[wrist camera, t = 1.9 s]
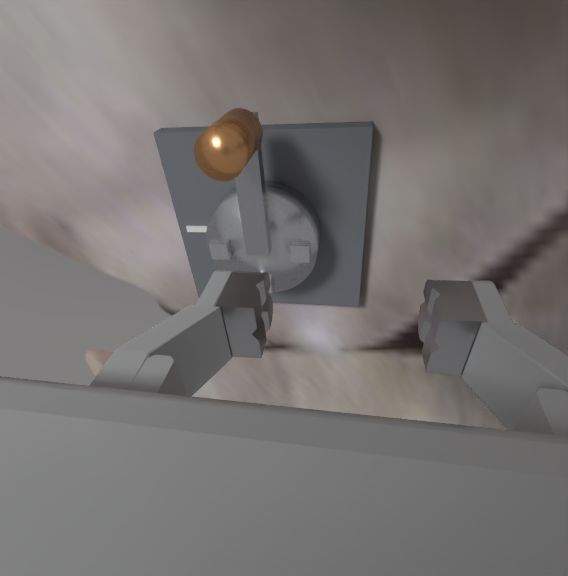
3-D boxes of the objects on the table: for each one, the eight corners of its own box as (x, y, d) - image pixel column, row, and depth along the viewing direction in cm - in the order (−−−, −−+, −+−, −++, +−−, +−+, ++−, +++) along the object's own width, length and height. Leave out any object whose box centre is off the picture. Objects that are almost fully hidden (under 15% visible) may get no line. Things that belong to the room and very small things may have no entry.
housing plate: (161, 128, 31) (152, 133, 30) (372, 121, 28) (373, 127, 27) (203, 289, 42) (198, 299, 41) (358, 297, 39) (358, 308, 38)
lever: (320, 276, 36) (311, 343, 29) (225, 272, 38) (194, 334, 31) (319, 92, 26) (304, 125, 19) (190, 98, 28) (131, 131, 20)
